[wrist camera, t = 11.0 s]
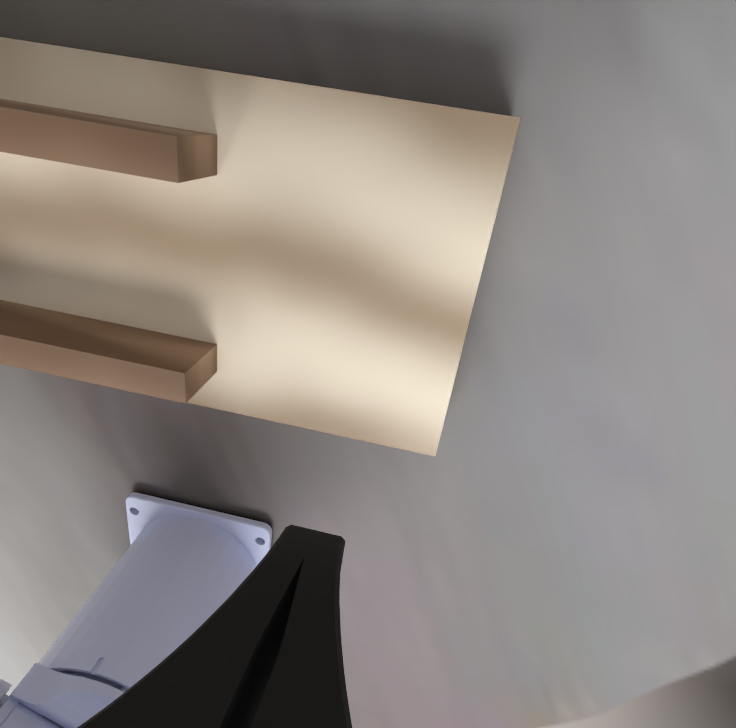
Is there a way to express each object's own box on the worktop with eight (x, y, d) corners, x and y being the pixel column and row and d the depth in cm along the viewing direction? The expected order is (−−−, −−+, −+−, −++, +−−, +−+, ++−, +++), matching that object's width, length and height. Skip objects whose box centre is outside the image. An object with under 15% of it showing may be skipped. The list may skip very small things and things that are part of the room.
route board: (437, 422, 22) (431, 499, 17) (-206, 286, 24) (-354, 323, 20) (512, 118, 16) (532, 116, 12) (-327, -12, 19) (-569, -54, 14)
